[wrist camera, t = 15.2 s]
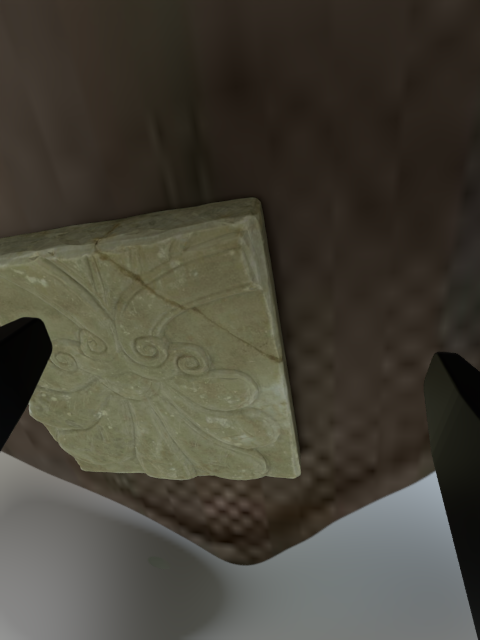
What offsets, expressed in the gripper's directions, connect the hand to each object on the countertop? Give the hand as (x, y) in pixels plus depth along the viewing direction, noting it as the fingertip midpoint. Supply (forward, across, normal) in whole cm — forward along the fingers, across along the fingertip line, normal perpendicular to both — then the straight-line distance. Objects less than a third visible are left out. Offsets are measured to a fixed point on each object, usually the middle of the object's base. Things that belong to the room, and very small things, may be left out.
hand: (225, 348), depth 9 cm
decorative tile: (+13, +8, +12) cm, 19 cm away
